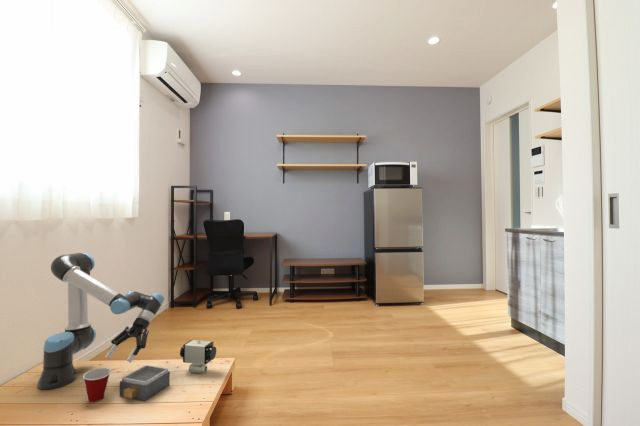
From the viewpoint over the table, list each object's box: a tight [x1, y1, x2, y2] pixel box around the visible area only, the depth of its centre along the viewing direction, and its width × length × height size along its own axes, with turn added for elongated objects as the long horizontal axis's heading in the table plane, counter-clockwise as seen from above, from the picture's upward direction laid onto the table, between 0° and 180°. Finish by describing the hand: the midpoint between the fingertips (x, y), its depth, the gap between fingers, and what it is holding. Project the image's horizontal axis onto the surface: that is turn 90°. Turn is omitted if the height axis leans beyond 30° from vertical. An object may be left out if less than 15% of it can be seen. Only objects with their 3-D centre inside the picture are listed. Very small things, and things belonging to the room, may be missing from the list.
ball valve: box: [179, 339, 217, 375], centre depth 171 cm, size 18×8×18 cm, turn 80°
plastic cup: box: [82, 367, 112, 403], centre depth 144 cm, size 11×11×12 cm
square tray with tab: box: [119, 365, 171, 403], centre depth 150 cm, size 15×17×8 cm
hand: (117, 359), depth 154 cm, fingers open, 13 cm apart
